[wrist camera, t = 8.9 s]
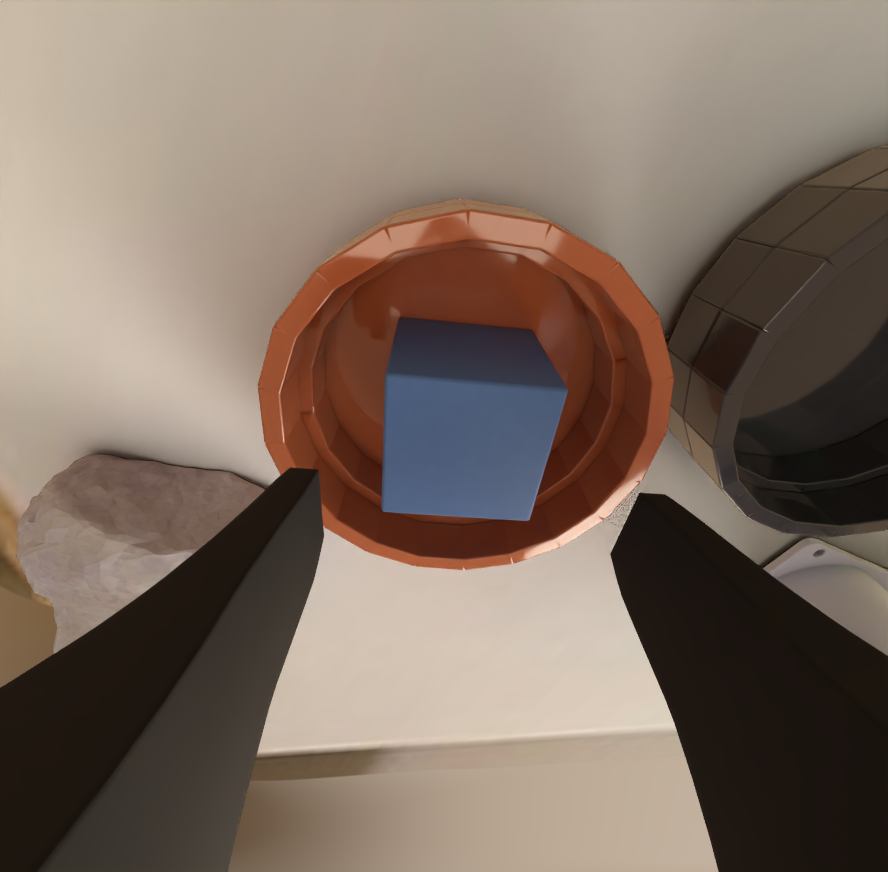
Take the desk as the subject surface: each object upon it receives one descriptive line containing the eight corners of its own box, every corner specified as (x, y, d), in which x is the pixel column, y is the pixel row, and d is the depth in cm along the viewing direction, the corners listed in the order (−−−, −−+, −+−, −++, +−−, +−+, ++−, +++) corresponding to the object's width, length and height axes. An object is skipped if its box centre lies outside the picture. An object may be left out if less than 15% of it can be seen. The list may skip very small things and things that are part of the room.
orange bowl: (689, 305, 14) (769, 349, 11) (512, 526, 20) (527, 601, 16) (365, 116, 11) (334, 93, 8) (267, 440, 17) (224, 510, 13)
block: (533, 329, 14) (570, 390, 10) (508, 440, 16) (529, 522, 12) (398, 316, 13) (384, 373, 10) (393, 431, 16) (380, 513, 12)
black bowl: (1101, 257, 13) (1326, 287, 10) (795, 500, 19) (872, 572, 16) (873, 42, 10) (1083, -18, 7) (591, 406, 16) (633, 469, 13)
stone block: (318, 464, 19) (52, 436, 16) (313, 548, 16) (-33, 535, 12) (289, 603, 26) (96, 604, 22) (281, 685, 22) (49, 701, 19)
